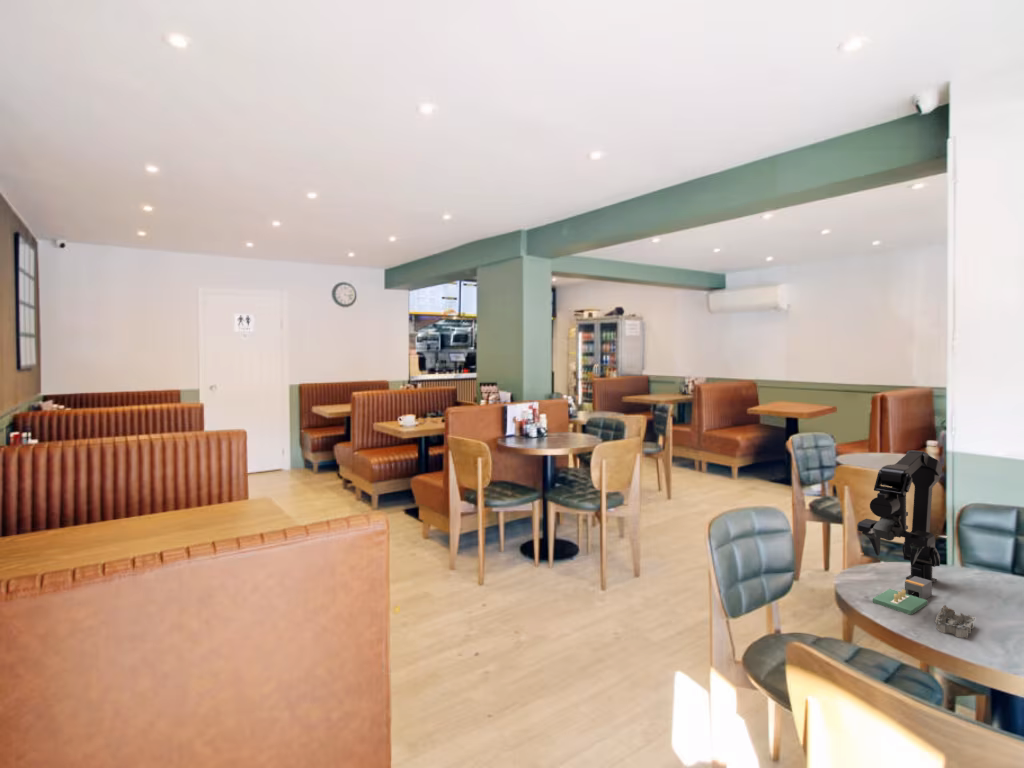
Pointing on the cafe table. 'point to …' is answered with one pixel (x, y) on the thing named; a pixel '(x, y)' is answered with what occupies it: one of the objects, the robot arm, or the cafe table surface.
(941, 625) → the egg carton
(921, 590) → the plug housing
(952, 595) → the cafe table surface
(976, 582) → the cafe table surface
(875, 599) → the board
